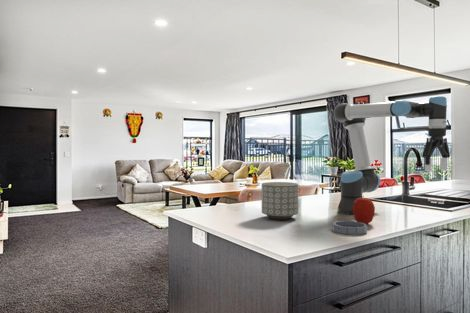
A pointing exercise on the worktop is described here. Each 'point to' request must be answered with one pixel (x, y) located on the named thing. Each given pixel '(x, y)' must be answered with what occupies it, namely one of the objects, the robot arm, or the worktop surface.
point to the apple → (363, 210)
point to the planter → (280, 200)
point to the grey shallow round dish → (350, 227)
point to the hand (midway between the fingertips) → (436, 171)
